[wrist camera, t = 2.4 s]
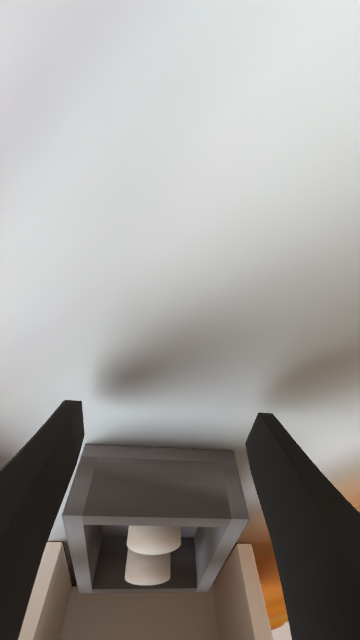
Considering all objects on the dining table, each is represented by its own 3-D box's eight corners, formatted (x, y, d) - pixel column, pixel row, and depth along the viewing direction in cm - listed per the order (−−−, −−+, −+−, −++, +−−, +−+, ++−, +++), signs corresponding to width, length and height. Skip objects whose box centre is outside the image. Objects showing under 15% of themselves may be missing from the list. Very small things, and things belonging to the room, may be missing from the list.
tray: (201, 525, 19) (207, 592, 16) (94, 523, 18) (79, 593, 15) (231, 445, 14) (249, 519, 11) (87, 437, 13) (62, 515, 10)
